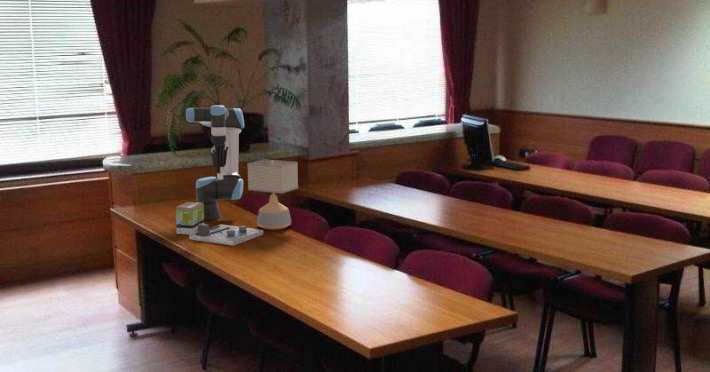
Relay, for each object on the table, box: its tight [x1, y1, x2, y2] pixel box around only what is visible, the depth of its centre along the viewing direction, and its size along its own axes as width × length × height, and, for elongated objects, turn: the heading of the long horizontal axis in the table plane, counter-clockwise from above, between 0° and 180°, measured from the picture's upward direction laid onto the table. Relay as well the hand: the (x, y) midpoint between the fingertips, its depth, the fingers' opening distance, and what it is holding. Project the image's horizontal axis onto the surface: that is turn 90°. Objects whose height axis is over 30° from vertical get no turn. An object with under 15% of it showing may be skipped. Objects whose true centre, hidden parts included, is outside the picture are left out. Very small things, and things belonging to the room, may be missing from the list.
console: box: [188, 223, 264, 247], centre depth 412 cm, size 26×29×5 cm
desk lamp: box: [247, 158, 299, 231], centre depth 429 cm, size 22×19×37 cm
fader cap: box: [198, 223, 210, 235], centre depth 408 cm, size 3×5×5 cm, turn 61°
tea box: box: [175, 201, 205, 235], centre depth 424 cm, size 15×10×15 cm
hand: (220, 179), depth 420 cm, fingers closed
